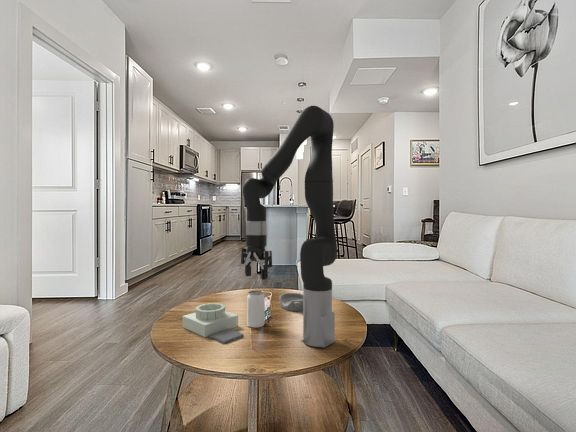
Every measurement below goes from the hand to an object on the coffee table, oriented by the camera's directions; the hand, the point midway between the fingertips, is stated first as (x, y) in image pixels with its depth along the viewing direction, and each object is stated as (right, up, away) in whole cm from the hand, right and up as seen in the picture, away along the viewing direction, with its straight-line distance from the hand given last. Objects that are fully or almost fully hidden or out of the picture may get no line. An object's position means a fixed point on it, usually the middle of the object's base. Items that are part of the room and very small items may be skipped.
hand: (255, 277), depth 115 cm
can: (0, -18, 0) cm, 18 cm away
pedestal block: (-16, -17, -2) cm, 24 cm away
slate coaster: (-9, -17, -11) cm, 22 cm away
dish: (+15, -18, +23) cm, 33 cm away
